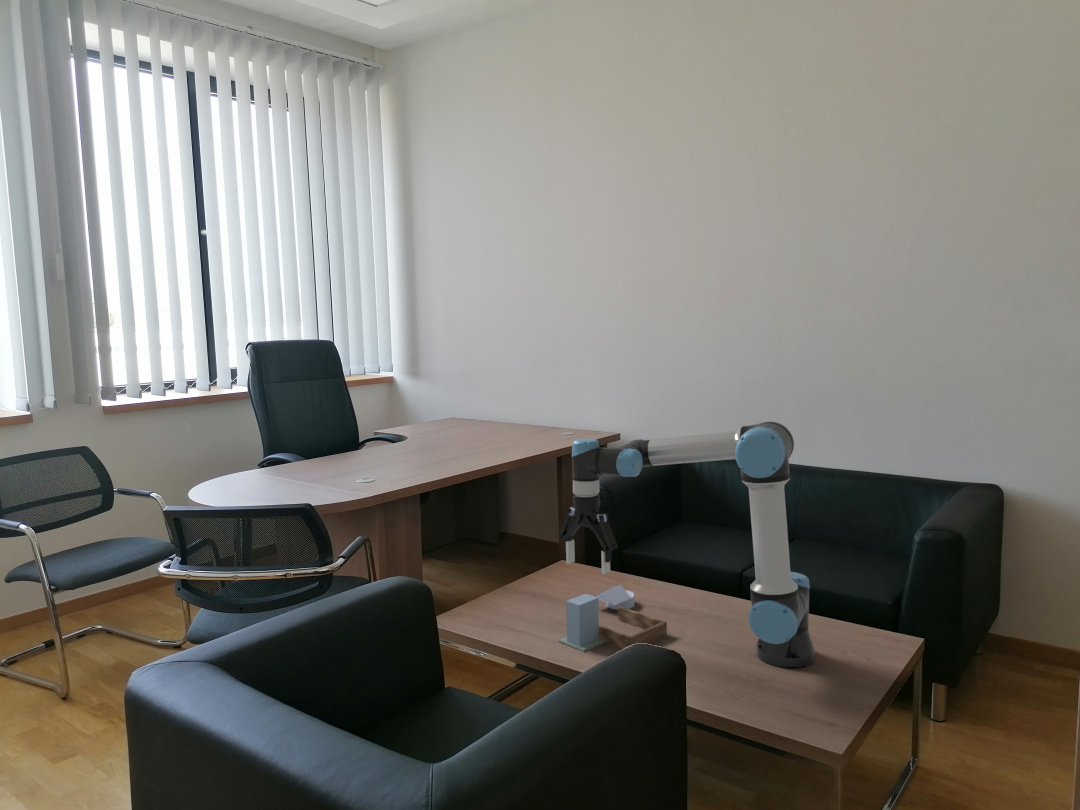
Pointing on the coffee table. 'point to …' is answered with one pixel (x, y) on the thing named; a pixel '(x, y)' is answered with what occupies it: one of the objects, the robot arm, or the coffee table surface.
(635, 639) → the shelf bay
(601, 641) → the felt pad
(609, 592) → the wedge on round base
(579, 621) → the block
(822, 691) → the coffee table surface
